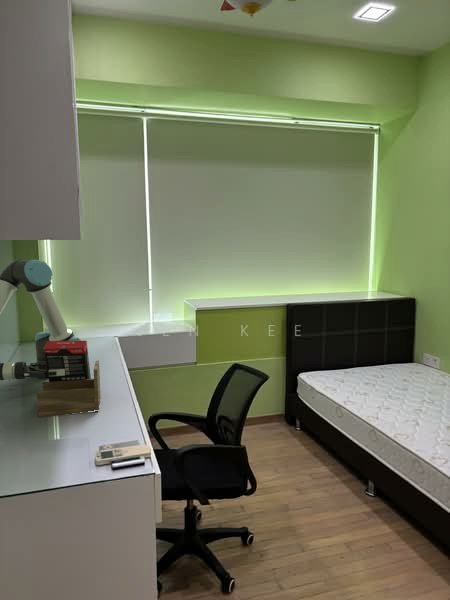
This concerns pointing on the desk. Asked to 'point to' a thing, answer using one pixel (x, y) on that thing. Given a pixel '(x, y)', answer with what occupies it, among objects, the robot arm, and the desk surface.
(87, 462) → the desk surface
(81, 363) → the graphics card box
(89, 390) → the walnut shelf slot
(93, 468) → the desk surface
